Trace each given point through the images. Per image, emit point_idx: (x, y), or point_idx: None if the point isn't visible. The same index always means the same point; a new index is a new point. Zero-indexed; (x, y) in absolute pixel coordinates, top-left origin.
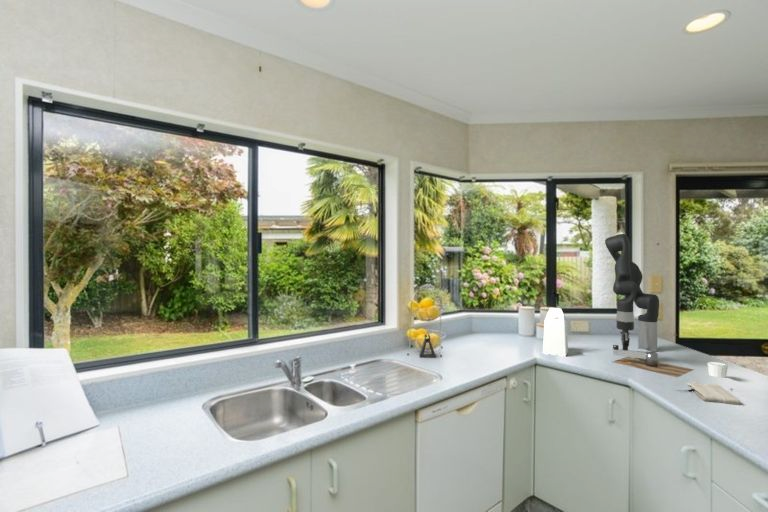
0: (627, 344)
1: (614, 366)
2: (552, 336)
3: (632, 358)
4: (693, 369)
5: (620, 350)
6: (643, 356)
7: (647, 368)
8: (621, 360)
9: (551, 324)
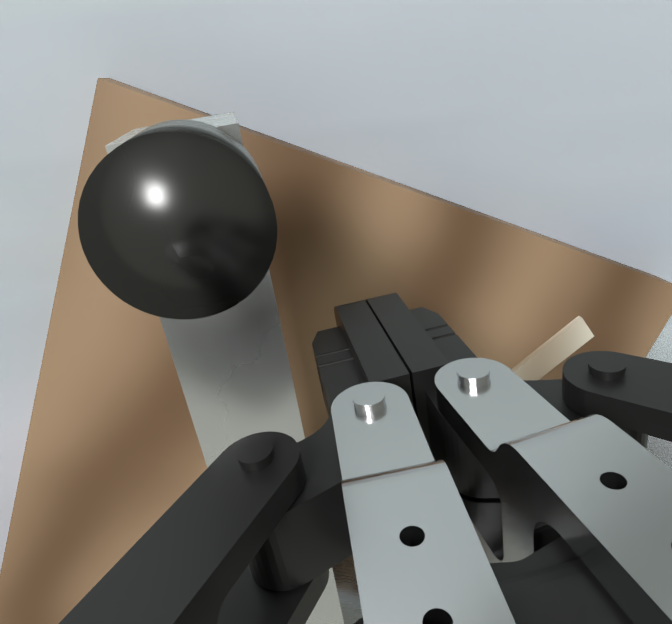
0: (259, 581)
1: (36, 141)
2: None
3: (551, 335)
4: None
5: (160, 319)
6: None
7: (105, 552)
8: (337, 225)
9: None
